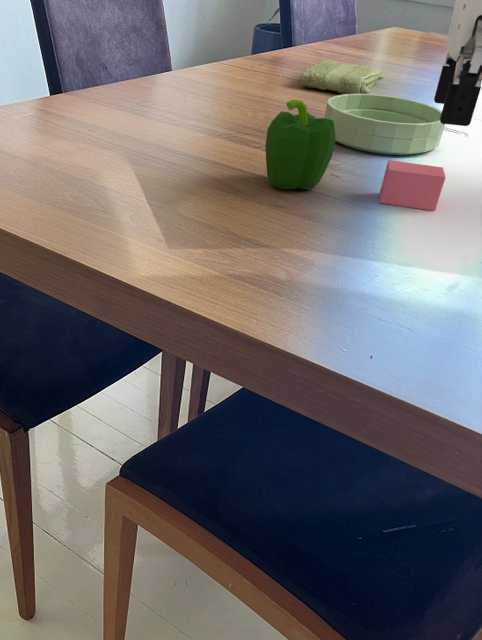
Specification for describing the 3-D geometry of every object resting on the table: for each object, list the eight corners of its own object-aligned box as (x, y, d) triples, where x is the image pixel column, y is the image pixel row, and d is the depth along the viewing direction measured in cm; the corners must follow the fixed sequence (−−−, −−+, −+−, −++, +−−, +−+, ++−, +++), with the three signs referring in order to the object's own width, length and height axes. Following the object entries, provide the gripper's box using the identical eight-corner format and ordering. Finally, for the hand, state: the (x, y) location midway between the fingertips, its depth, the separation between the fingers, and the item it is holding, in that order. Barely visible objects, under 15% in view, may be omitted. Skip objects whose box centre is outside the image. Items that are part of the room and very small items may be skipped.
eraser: (432, 200, 90) (443, 167, 88) (435, 211, 87) (445, 177, 85) (379, 192, 91) (388, 159, 89) (379, 203, 88) (388, 169, 86)
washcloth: (384, 83, 144) (388, 64, 142) (362, 99, 131) (367, 80, 129) (319, 72, 148) (323, 54, 146) (293, 87, 135) (296, 68, 133)
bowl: (433, 132, 116) (441, 102, 113) (440, 164, 103) (451, 130, 100) (324, 118, 119) (330, 88, 116) (318, 147, 105) (324, 114, 103)
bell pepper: (311, 174, 95) (328, 91, 89) (333, 196, 89) (353, 109, 83) (249, 173, 94) (262, 89, 88) (267, 196, 88) (283, 107, 81)
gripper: (556, -59, 67) (493, 137, 78) (525, -69, 80) (475, 99, 91) (471, -64, 68) (421, 129, 79) (455, -73, 81) (413, 93, 92)
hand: (450, 113), depth 85 cm, fingers open, 9 cm apart
